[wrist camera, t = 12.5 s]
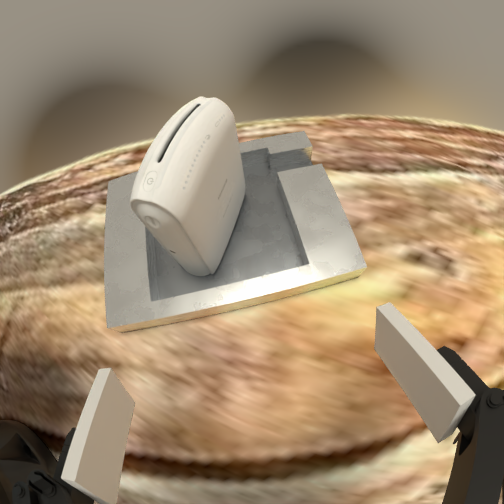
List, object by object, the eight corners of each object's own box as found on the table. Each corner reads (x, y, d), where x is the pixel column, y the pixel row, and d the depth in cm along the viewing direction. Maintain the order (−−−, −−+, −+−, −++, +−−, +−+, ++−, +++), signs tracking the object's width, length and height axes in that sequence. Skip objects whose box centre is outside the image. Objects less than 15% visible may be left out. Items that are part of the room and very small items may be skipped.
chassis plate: (121, 332, 23) (107, 328, 21) (118, 194, 29) (108, 181, 27) (358, 277, 23) (366, 266, 21) (302, 146, 30) (304, 131, 28)
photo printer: (216, 284, 24) (166, 203, 13) (173, 271, 25) (103, 191, 13) (252, 188, 28) (238, 83, 16) (212, 181, 28) (183, 82, 17)
